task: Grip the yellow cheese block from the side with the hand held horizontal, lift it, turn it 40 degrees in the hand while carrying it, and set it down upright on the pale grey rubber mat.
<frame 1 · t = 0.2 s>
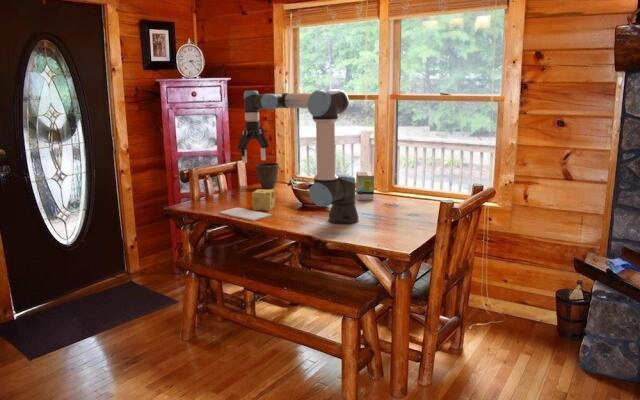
hand: (254, 161, 275), 27 cm above the table, tool pointing down, fingers open, 13 cm apart
mat: (245, 214, 274), on the table
plant pot: (267, 188, 339), on the table
cheese: (263, 208, 287), on the table
tea box: (364, 197, 312), on the table
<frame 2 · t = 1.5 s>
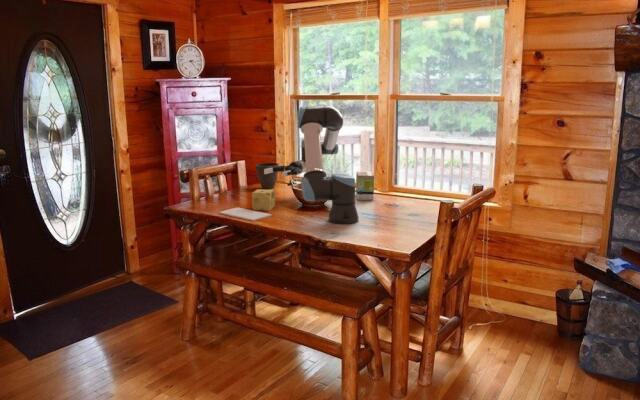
hand: (273, 173, 290), 18 cm above the table, tool horizontal, fingers open, 13 cm apart
nothing on the table moved.
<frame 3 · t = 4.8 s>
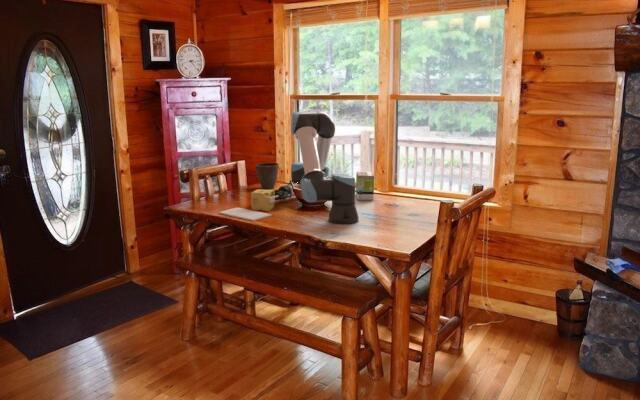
hand: (261, 198, 285), 6 cm above the table, tool horizontal, fingers open, 13 cm apart
cheese: (263, 208, 287), on the table, touching gripper
everything else where it was.
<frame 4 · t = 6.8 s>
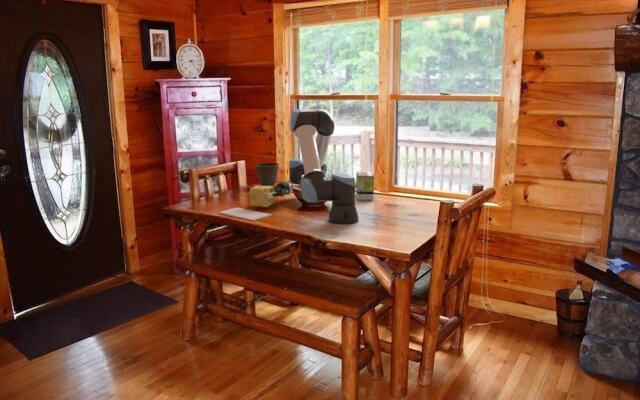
hand: (258, 194, 283), 8 cm above the table, tool horizontal, fingers closed on cheese, 13 cm apart
cheese: (262, 205, 286), point 2 cm above the table, touching gripper
everything else where it was.
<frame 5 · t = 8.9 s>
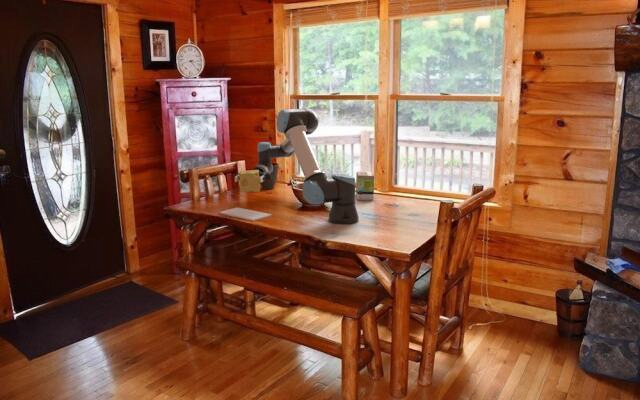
hand: (247, 179, 272), 18 cm above the table, tool horizontal, fingers closed on cheese, 13 cm apart
cheese: (249, 190, 275), point 12 cm above the table, touching gripper
everything else where it was.
when the fingers open (8 cm above the table, at t = 12.0 s): cheese drops 1 cm, resting on mat.
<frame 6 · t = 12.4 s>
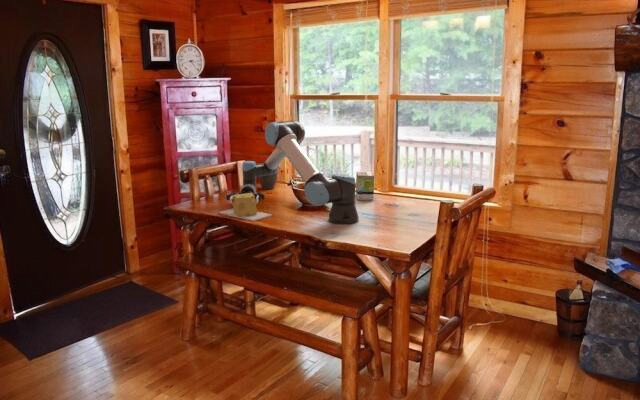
hand: (243, 200, 269), 8 cm above the table, tool horizontal, fingers open, 13 cm apart
cheese: (244, 214, 273), point 1 cm above the table, touching gripper, mat
everything else where it was.
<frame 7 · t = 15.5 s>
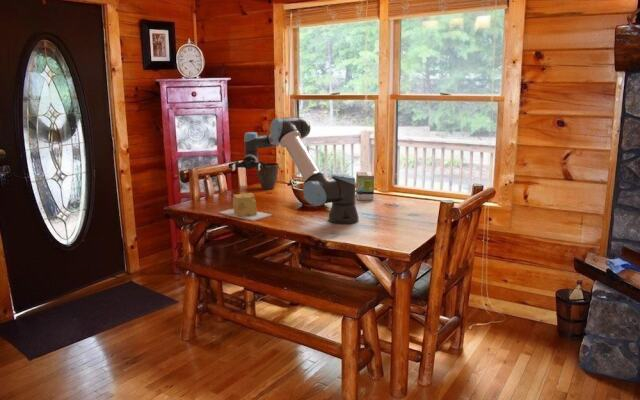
hand: (245, 168, 274), 24 cm above the table, tool horizontal, fingers open, 13 cm apart
cheese: (245, 214, 273), point 1 cm above the table, touching mat
everything else where it was.
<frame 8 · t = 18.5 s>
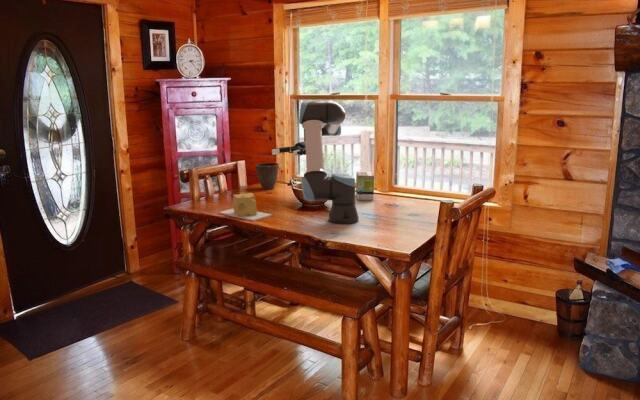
hand: (282, 153, 285), 30 cm above the table, tool horizontal, fingers open, 13 cm apart
nothing on the table moved.
at the end: cheese inside the target area on the mat (1.0 cm from its centre), point 0.6 cm above the mat's base; cheese tilted 0°; the gripper is holding nothing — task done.
